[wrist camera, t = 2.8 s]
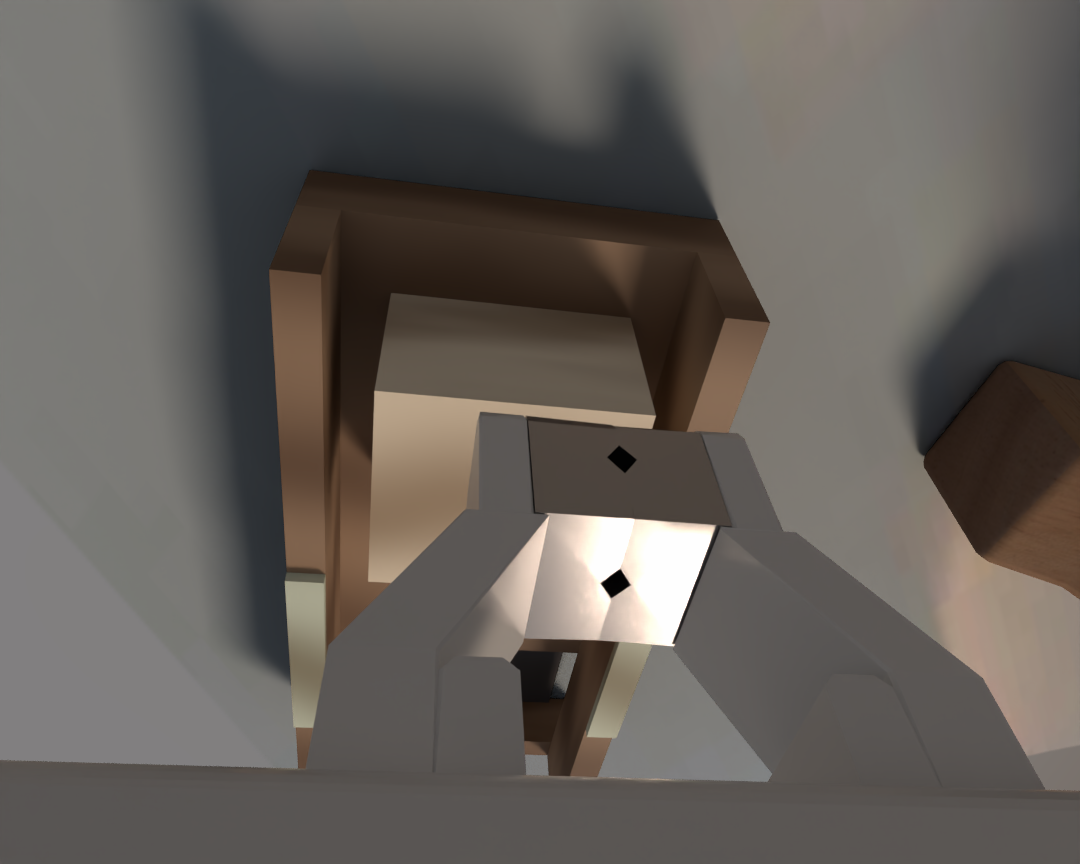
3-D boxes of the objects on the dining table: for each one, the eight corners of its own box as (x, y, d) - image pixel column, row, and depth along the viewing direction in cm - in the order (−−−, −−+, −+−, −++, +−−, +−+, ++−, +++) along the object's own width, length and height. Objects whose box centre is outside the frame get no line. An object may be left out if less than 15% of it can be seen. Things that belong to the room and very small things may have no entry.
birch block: (390, 292, 20) (374, 390, 17) (630, 317, 21) (656, 415, 18) (382, 474, 24) (368, 581, 21) (586, 489, 25) (601, 594, 22)
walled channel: (309, 169, 20) (265, 276, 16) (718, 220, 22) (773, 330, 18) (321, 703, 34) (300, 831, 30) (567, 712, 36) (578, 836, 32)
